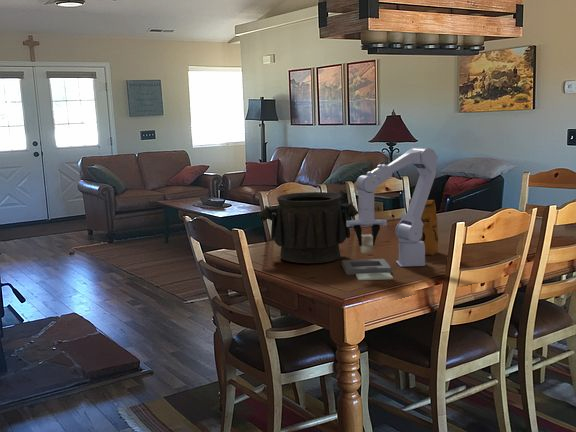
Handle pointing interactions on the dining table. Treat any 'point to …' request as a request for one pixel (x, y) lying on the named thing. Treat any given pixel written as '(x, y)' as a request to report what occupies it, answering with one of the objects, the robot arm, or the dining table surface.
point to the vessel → (309, 226)
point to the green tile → (374, 276)
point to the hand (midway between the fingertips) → (366, 245)
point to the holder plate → (365, 266)
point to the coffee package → (429, 228)
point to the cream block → (367, 243)
